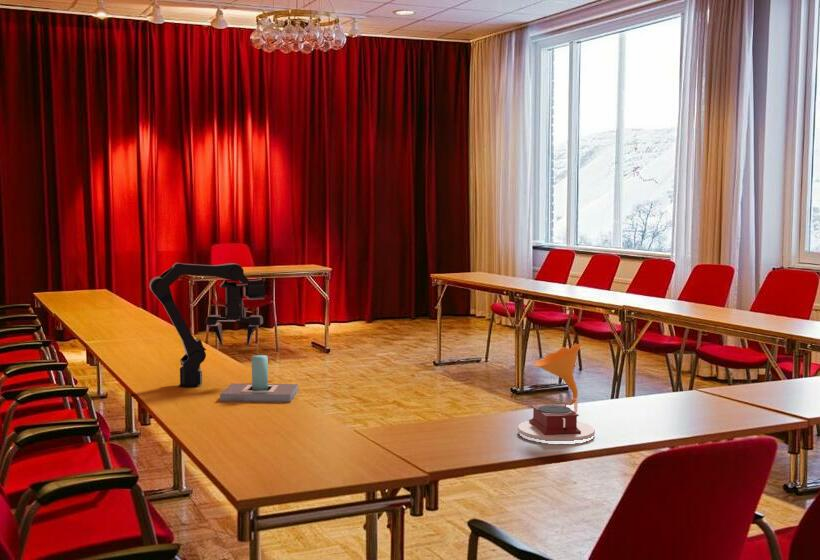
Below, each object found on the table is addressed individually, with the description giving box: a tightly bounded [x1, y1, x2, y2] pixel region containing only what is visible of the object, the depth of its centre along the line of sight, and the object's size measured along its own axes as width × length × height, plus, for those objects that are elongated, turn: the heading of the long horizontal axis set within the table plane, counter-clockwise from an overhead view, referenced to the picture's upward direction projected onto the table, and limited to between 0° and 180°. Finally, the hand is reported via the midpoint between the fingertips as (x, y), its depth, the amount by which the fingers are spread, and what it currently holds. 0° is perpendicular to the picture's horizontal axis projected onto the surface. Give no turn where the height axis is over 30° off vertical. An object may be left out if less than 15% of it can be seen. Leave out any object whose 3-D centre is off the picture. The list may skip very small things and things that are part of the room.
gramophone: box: [517, 342, 596, 441], centre depth 243 cm, size 20×20×25 cm
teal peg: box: [251, 354, 269, 391], centre depth 289 cm, size 5×5×13 cm
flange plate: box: [219, 382, 299, 403], centre depth 290 cm, size 22×16×3 cm
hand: (235, 345), depth 311 cm, fingers open, 9 cm apart
